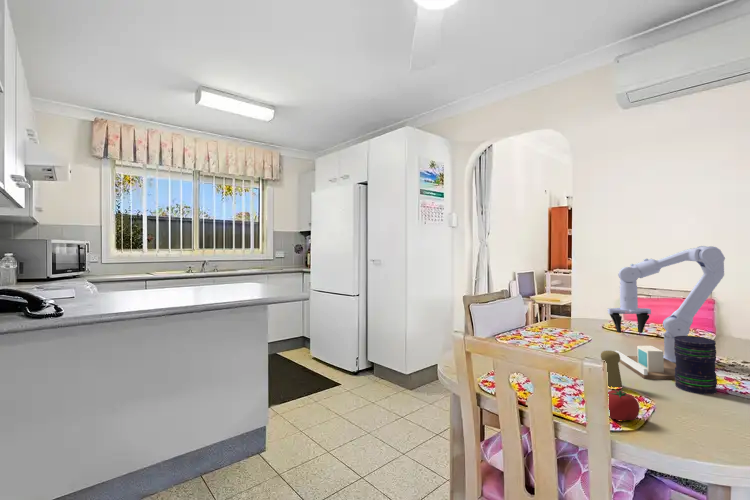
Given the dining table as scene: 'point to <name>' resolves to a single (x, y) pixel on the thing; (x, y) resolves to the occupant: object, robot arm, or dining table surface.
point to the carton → (650, 358)
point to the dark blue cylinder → (695, 364)
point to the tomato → (622, 406)
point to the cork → (612, 368)
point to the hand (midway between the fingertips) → (629, 332)
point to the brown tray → (642, 371)
